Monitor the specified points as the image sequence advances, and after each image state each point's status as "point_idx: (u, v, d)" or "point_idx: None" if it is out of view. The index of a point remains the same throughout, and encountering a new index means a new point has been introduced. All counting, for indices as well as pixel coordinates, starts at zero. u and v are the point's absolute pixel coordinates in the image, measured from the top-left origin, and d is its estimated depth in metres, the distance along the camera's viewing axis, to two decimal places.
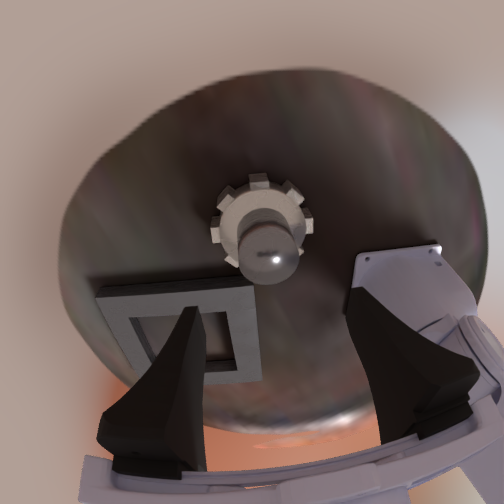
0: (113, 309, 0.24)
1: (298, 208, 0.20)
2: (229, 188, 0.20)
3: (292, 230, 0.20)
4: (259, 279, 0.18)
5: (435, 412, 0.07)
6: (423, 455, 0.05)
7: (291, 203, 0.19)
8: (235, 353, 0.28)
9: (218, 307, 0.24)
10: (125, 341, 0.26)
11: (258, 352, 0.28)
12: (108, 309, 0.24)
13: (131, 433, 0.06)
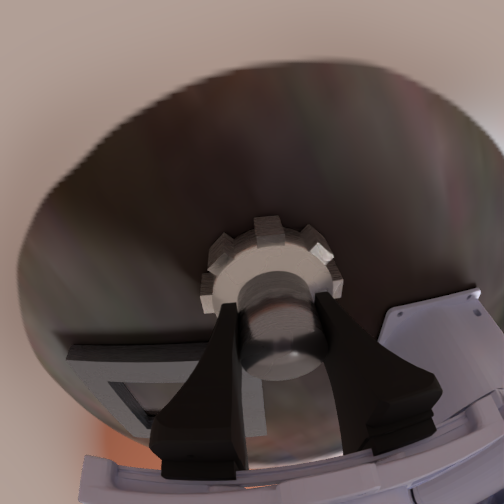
0: (88, 372, 0.18)
1: (325, 269, 0.14)
2: (225, 239, 0.14)
3: (314, 297, 0.14)
4: (270, 376, 0.12)
5: (391, 428, 0.07)
6: (423, 455, 0.05)
7: (316, 263, 0.13)
8: None
9: None
10: (107, 401, 0.20)
11: (263, 414, 0.22)
12: (83, 372, 0.18)
13: (194, 436, 0.06)
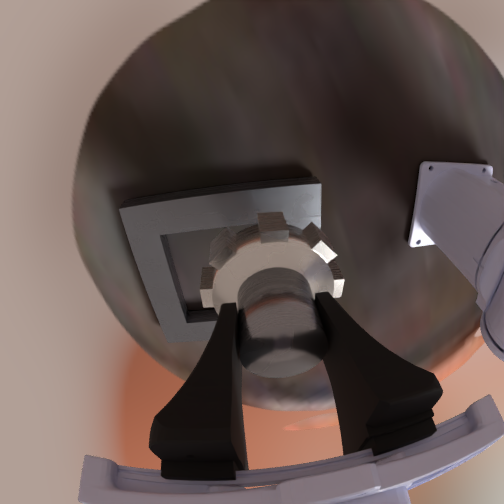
0: (141, 224, 0.20)
1: (327, 268, 0.14)
2: (228, 233, 0.14)
3: (314, 295, 0.14)
4: (269, 373, 0.12)
5: (391, 428, 0.07)
6: (423, 455, 0.05)
7: (318, 261, 0.13)
8: None
9: None
10: (151, 274, 0.22)
11: None
12: (134, 225, 0.20)
13: (193, 436, 0.06)
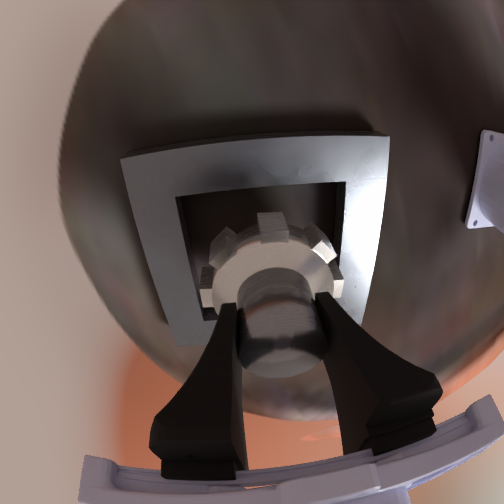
0: (150, 181, 0.14)
1: (327, 268, 0.14)
2: (228, 233, 0.14)
3: (314, 295, 0.14)
4: (268, 373, 0.12)
5: (391, 428, 0.07)
6: (423, 455, 0.05)
7: (318, 262, 0.13)
8: (340, 270, 0.18)
9: (336, 172, 0.15)
10: (159, 253, 0.17)
11: (371, 269, 0.18)
12: (140, 182, 0.14)
13: (193, 436, 0.06)
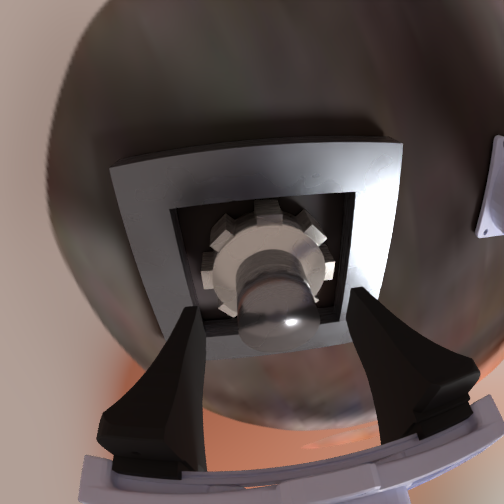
0: (142, 191, 0.13)
1: (318, 250, 0.15)
2: (227, 219, 0.15)
3: (307, 276, 0.16)
4: (265, 347, 0.13)
5: (435, 412, 0.07)
6: (423, 455, 0.05)
7: (310, 244, 0.15)
8: (347, 285, 0.17)
9: (345, 182, 0.13)
10: (154, 269, 0.15)
11: (379, 283, 0.17)
12: (131, 193, 0.13)
13: (131, 433, 0.06)
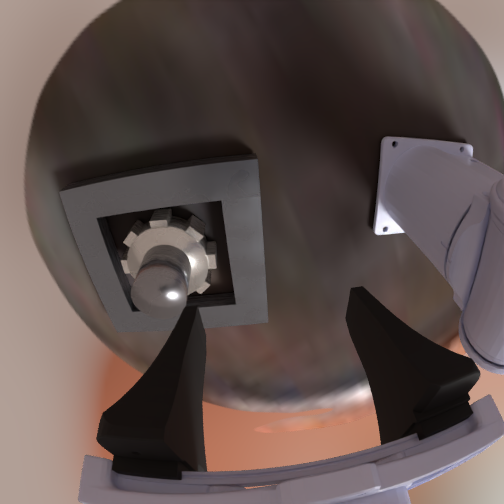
0: (79, 207, 0.18)
1: (197, 245, 0.20)
2: (137, 223, 0.20)
3: (194, 265, 0.21)
4: (153, 313, 0.18)
5: (435, 412, 0.07)
6: (423, 455, 0.05)
7: (189, 241, 0.20)
8: (233, 274, 0.22)
9: (211, 194, 0.19)
10: (92, 258, 0.20)
11: (263, 273, 0.22)
12: (73, 207, 0.18)
13: (131, 433, 0.06)
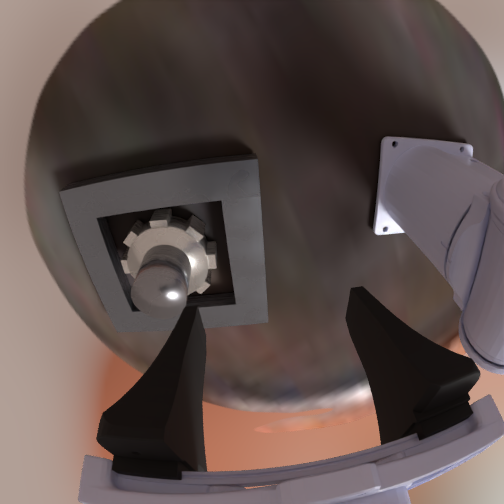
0: (79, 207, 0.18)
1: (197, 245, 0.20)
2: (137, 223, 0.20)
3: (194, 265, 0.21)
4: (153, 313, 0.18)
5: (435, 412, 0.07)
6: (423, 455, 0.05)
7: (189, 240, 0.20)
8: (233, 274, 0.22)
9: (211, 194, 0.19)
10: (92, 258, 0.20)
11: (263, 273, 0.22)
12: (73, 207, 0.18)
13: (131, 433, 0.06)
